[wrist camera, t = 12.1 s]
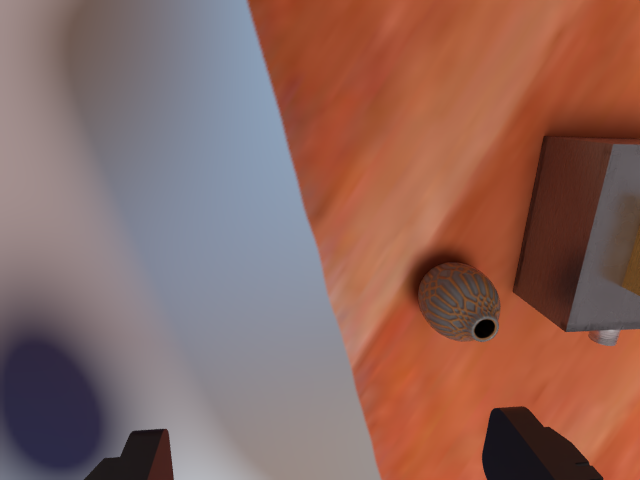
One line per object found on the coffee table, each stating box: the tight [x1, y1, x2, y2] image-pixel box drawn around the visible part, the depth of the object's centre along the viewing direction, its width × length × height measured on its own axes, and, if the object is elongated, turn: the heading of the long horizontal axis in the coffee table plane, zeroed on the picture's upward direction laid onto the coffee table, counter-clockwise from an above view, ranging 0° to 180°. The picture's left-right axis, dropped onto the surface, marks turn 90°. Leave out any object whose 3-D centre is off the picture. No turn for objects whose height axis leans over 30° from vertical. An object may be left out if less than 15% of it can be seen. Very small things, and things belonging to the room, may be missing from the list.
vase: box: [418, 262, 500, 342], centre depth 37 cm, size 7×7×9 cm
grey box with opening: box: [513, 136, 640, 346], centre depth 37 cm, size 20×16×10 cm
